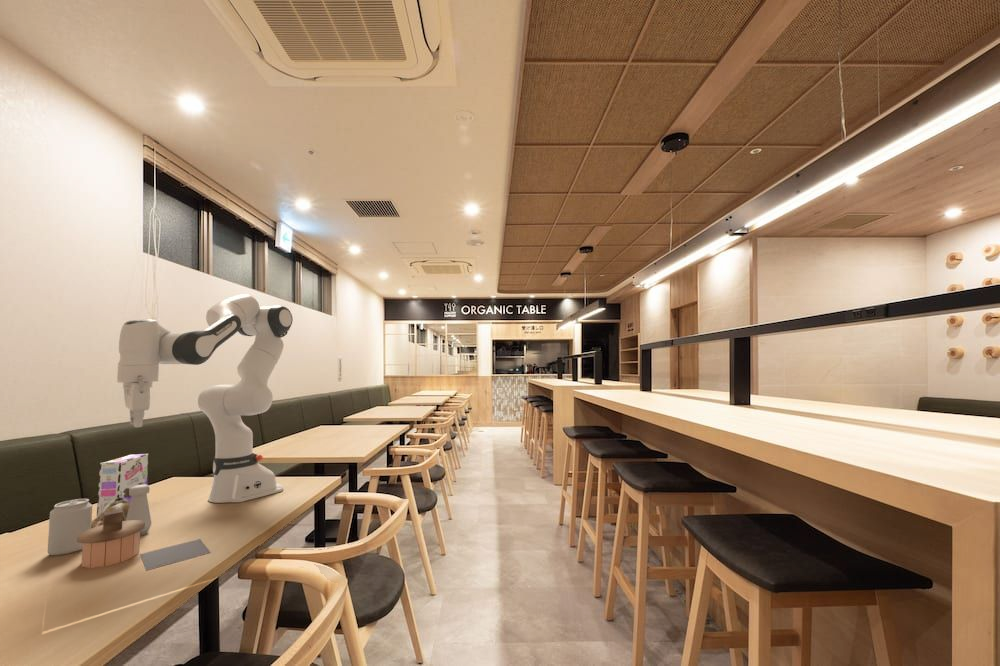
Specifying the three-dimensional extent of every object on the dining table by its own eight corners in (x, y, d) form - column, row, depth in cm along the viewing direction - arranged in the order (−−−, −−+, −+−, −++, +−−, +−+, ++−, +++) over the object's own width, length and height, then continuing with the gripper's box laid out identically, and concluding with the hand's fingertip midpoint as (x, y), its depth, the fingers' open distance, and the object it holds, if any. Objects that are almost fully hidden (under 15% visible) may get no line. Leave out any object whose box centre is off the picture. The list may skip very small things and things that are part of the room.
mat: (200, 540, 110) (200, 538, 110) (210, 554, 102) (210, 552, 102) (140, 555, 102) (140, 554, 102) (146, 572, 93) (146, 570, 93)
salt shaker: (134, 539, 112) (136, 489, 113) (117, 538, 113) (119, 488, 114) (156, 530, 117) (158, 483, 118) (139, 529, 119) (142, 482, 120)
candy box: (117, 516, 130) (120, 461, 131) (95, 518, 129) (98, 462, 130) (147, 502, 143) (149, 452, 145) (127, 503, 143) (130, 453, 144)
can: (40, 560, 100) (43, 508, 101) (57, 548, 107) (60, 499, 108) (81, 554, 103) (84, 503, 104) (96, 542, 110) (98, 495, 111)
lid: (142, 519, 109) (142, 500, 110) (148, 532, 101) (148, 511, 101) (76, 533, 101) (77, 512, 101) (76, 548, 92) (78, 525, 93)
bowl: (136, 546, 107) (137, 521, 108) (141, 558, 100) (142, 532, 101) (81, 559, 100) (82, 533, 101) (81, 573, 93) (83, 545, 94)
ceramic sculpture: (139, 487, 130) (148, 500, 120) (138, 516, 129) (147, 531, 119) (91, 496, 122) (96, 510, 112) (90, 526, 122) (94, 544, 111)
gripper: (157, 375, 115) (155, 427, 114) (148, 375, 129) (146, 421, 128) (126, 376, 110) (124, 430, 109) (120, 376, 125) (118, 423, 124)
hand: (136, 425), depth 119 cm, fingers open, 8 cm apart
